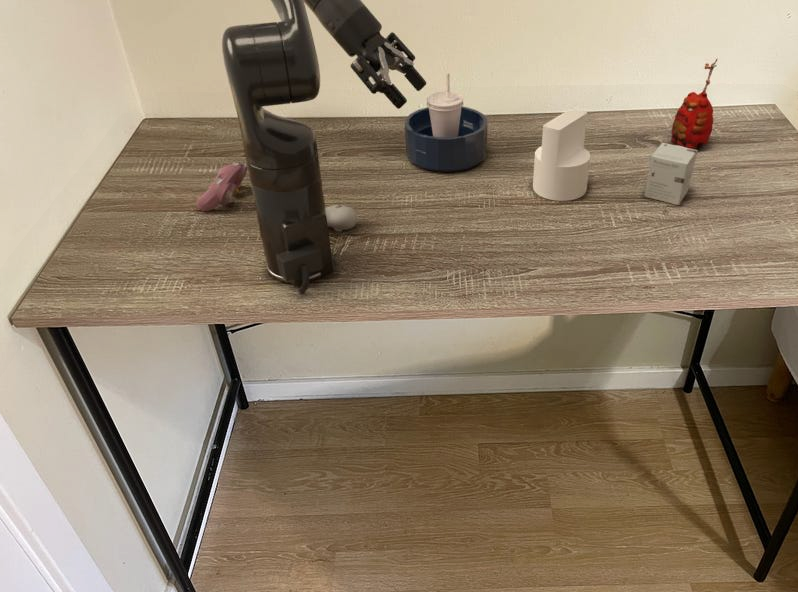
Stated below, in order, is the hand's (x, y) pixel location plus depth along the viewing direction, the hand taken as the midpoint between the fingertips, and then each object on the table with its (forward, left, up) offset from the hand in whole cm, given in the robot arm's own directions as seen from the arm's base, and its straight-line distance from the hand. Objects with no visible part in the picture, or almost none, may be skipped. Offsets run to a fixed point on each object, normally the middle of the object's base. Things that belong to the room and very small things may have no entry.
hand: (413, 96), depth 132 cm
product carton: (-38, -25, -10) cm, 47 cm away
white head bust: (-15, +25, -10) cm, 31 cm away
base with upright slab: (-26, -12, -10) cm, 30 cm away
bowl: (-5, -3, -10) cm, 12 cm away
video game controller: (+3, +35, -10) cm, 37 cm away
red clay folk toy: (-27, -43, -10) cm, 52 cm away
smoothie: (-5, -3, -9) cm, 11 cm away
